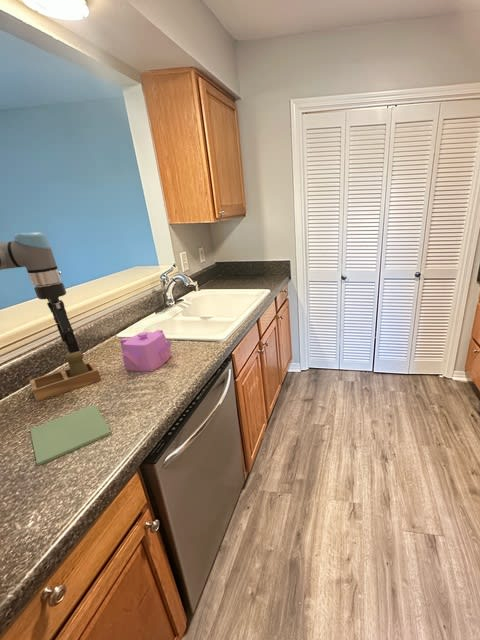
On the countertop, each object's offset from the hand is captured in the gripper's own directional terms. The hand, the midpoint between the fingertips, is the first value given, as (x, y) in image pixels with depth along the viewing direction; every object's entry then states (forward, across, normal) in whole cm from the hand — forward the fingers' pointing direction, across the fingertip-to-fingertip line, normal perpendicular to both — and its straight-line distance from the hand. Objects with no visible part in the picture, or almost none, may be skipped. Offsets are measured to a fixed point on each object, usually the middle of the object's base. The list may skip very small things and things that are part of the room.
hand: (71, 346), depth 109 cm
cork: (+13, 0, 0) cm, 13 cm away
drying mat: (+13, -31, +9) cm, 35 cm away
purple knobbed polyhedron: (+14, -5, -21) cm, 26 cm away
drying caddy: (+13, 0, +5) cm, 14 cm away
